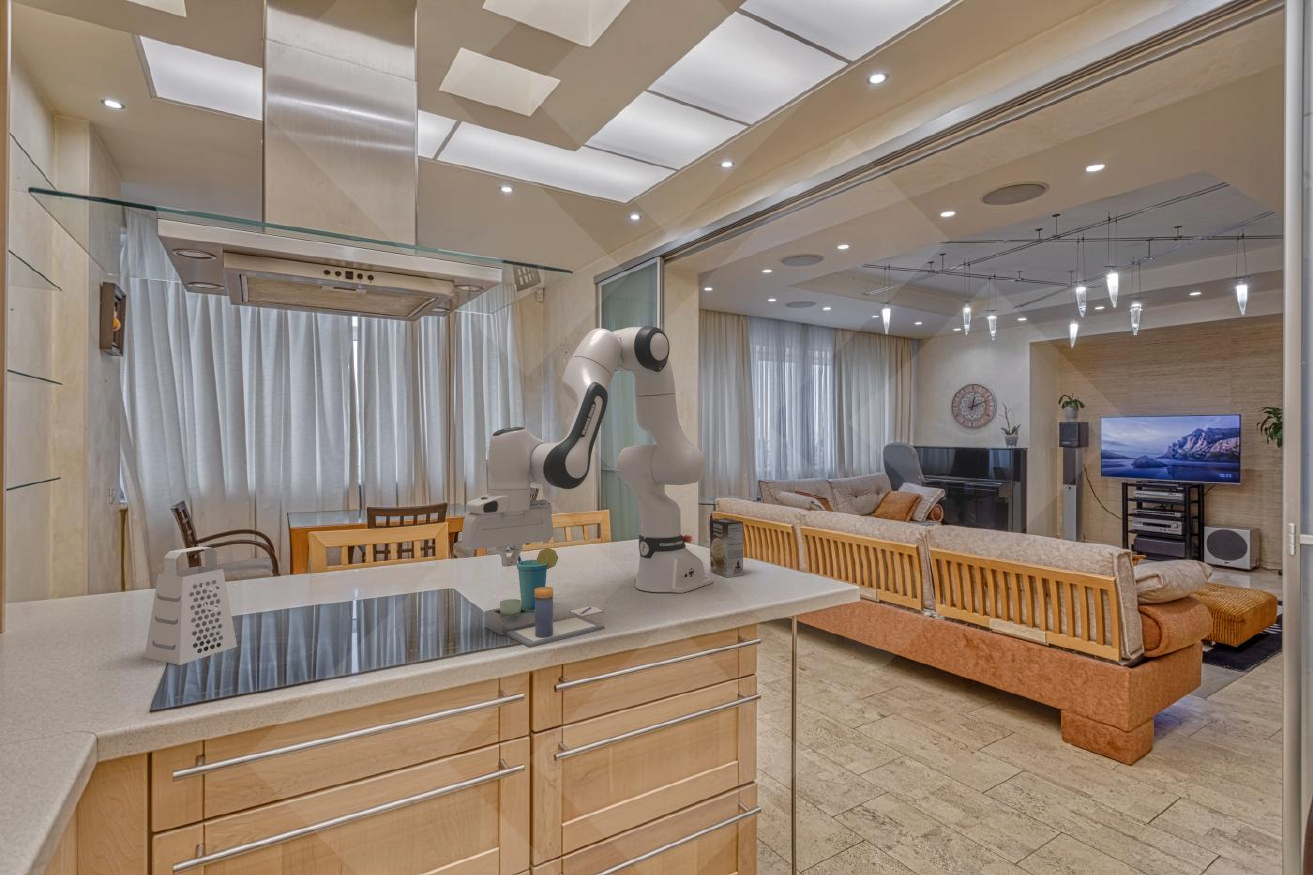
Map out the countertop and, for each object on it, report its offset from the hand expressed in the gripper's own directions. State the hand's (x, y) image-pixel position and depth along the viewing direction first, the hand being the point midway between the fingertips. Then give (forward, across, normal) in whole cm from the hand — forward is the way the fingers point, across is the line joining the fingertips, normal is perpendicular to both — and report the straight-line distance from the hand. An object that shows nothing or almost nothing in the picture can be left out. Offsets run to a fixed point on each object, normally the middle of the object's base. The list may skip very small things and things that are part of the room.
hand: (509, 565), depth 134 cm
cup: (+14, -11, -12) cm, 21 cm away
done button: (+12, 0, 0) cm, 12 cm away
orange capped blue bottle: (+13, -2, +11) cm, 17 cm away
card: (+13, -19, +1) cm, 23 cm away
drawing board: (+14, -6, +9) cm, 17 cm away
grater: (+14, +54, -27) cm, 62 cm away
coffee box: (+13, -73, -5) cm, 75 cm away
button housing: (+14, 0, 0) cm, 14 cm away
